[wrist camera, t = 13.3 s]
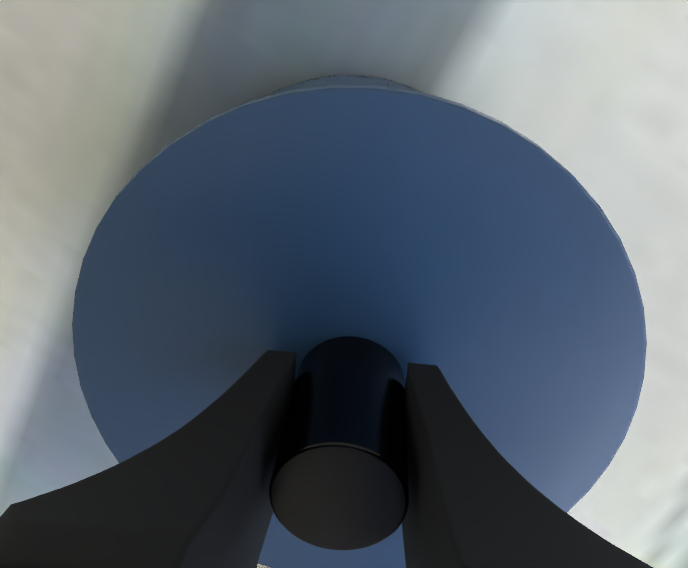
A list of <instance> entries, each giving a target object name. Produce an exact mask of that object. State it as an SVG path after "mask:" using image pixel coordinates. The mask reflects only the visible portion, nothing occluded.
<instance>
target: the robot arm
mask: <svg viewBox="0 0 688 568" xmlns="http://www.w3.org/2000/svg"><path fill="white" fill-rule="evenodd" d="M295 372H296V352H287V351H277V350H267V351H266V352H265V353H263V354H262V355H261V357H260V358H259V359H258V360H257V361H256V362H255V363H254V364H253V365H252V366H251V367H250V368H249V369H248V370H247V371H246V372H245V373H244V374H243V375H242V376H241V377H240V378H239V379H238V380H237V381H236V382H235V383H234V384H233V385H232V386H231V387H230V388H228V389H227V390H226V391H225V392H224V393H223V394H222V395H221V396H220V397H219V398H218V399H216V400H215V401H214V402H213V403H212V404H210V405H209V406H208V407H207V408H206V409H204V410H203V411H202V412H201V413H199V414H198V415H197V416H196V417H195V418H193V419H192V420H191V421H189V422H188V423H187V424H185V425H184V426H183V427H181V428H180V429H178V430H177V431H175V432H174V433H172V434H171V435H169V436H168V437H166V438H165V439H163V440H161V441H160V442H158V443H156V444H155V445H153V446H151V447H149V448H147V449H145V450H144V451H142V452H140V453H138V454H136V455H134V456H133V457H131V458H129V459H127V460H125V461H123V462H121V463H119V464H117V465H115V466H113V467H111V468H109V469H107V470H104V471H102V472H100V473H98V474H95V475H93V476H91V477H88V478H86V479H83V480H81V481H79V482H76V483H74V484H71V485H68V486H66V487H63V488H60V489H57V490H54V491H51V492H48V493H45V494H42V495H39V496H36V497H33V498H31V499H28V500H25V501H21V502H18V503H15V504H11V505H10V506H9V508H8V509H7V510H6V511H5V512H4V513H3V514H2V515H1V517H0V568H256V567H257V564H258V560H259V556H260V553H261V550H262V547H263V543H264V540H265V537H266V534H267V531H268V527H269V524H270V521H271V518H272V515H273V509H272V507H271V503H270V499H269V484H270V480H271V476H272V472H273V468H274V464H275V460H276V456H277V452H278V448H279V444H280V440H281V436H282V432H283V428H284V425H285V421H286V417H287V413H288V409H289V405H290V401H291V397H292V393H293V389H294V385H295ZM405 412H406V430H407V455H408V483H409V506H408V510H407V513H406V516H405V518H404V520H403V521H402V532H403V542H404V552H405V562H406V568H653V567H651V566H649V565H648V564H646V563H644V562H642V561H641V560H639V559H637V558H635V557H634V556H632V555H630V554H628V553H627V552H625V551H623V550H622V549H620V548H618V547H616V546H615V545H613V544H611V543H609V542H608V541H606V540H605V539H603V538H602V537H600V536H599V535H597V534H596V533H594V532H593V531H591V530H590V529H588V528H587V527H585V526H584V525H582V524H581V523H579V522H578V521H577V520H575V519H574V518H573V517H571V516H570V515H568V514H567V513H566V512H564V511H563V510H562V509H560V508H559V507H558V506H557V505H555V504H554V503H553V502H552V501H551V500H549V499H548V498H547V497H546V496H544V495H543V494H542V493H541V492H540V491H538V490H537V489H536V488H535V487H534V486H533V485H531V484H530V483H529V482H528V481H527V480H526V479H525V478H524V477H523V476H522V475H521V474H520V473H519V472H518V471H517V470H516V469H515V468H514V467H513V466H512V465H511V464H509V463H508V462H507V461H506V460H505V458H504V457H503V456H502V455H501V454H500V453H499V452H498V451H497V450H496V448H495V447H494V446H493V445H492V444H491V442H490V441H489V440H488V439H487V438H486V436H485V435H484V434H483V433H482V431H481V430H480V429H479V427H478V426H477V425H476V423H475V422H474V421H473V419H472V418H471V417H470V415H469V414H468V412H467V411H466V410H465V408H464V407H463V405H462V404H461V402H460V401H459V399H458V398H457V396H456V395H455V393H454V392H453V390H452V388H451V387H450V385H449V383H448V382H447V380H446V378H445V377H444V375H443V373H442V371H441V370H440V369H439V367H438V366H437V365H429V364H418V363H408V367H407V375H406V383H405Z"/></svg>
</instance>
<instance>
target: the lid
mask: <svg viewBox="0 0 688 568" xmlns="http://www.w3.org/2000/svg"><path fill="white" fill-rule="evenodd" d="M72 326H73V342H74V357H75V361H76V366H77V371H78V376H79V380H80V385H81V388H82V391H83V394H84V397H85V400H86V402H87V405H88V408H89V411H90V413H91V416H92V418H93V420H94V422H95V424H96V426H97V428H98V430H99V431H100V433H101V435H102V437H103V439H104V441H105V443H106V444H107V446H108V447H109V449H110V450H111V452H112V453H113V455H114V456H115V458H116V459H117V460H118V462H119V463H121V462H123V461H125V460H127V459H129V458H131V457H133V456H134V455H136V454H138V453H140V452H142V451H144V450H145V449H147V448H149V447H151V446H153V445H155V444H156V443H158V442H160V441H161V440H163V439H165V438H166V437H168V436H169V435H171V434H172V433H174V432H175V431H177V430H178V429H180V428H181V427H183V426H184V425H185V424H187V423H188V422H189V421H191V420H192V419H193V418H195V417H196V416H197V415H198V414H199V413H201V412H202V411H203V410H204V409H206V408H207V407H208V406H209V405H210V404H212V403H213V402H214V401H215V400H216V399H218V398H219V397H220V396H221V395H222V394H223V393H224V392H225V391H226V390H227V389H228V388H230V387H231V386H232V385H233V384H234V383H235V382H236V381H237V380H238V379H239V378H240V377H241V376H242V375H243V374H244V373H245V372H246V371H247V370H248V369H249V368H250V367H251V366H252V365H253V364H254V363H255V362H256V361H257V360H258V359H259V358H260V357H261V355H262V354H263V353H265V352H266V351H267V350H277V351H287V352H296V372H295V385H294V389H293V393H292V397H291V401H290V405H289V409H288V413H287V417H286V421H285V425H284V428H283V432H282V436H281V440H280V444H279V448H278V452H277V456H276V460H275V464H274V468H273V472H272V476H271V480H270V484H269V499H270V503H271V507H272V509H273V515H272V518H271V521H270V524H269V527H268V531H267V534H266V537H265V540H264V543H263V547H262V550H261V553H260V556H259V560H258V563H259V564H262V565H265V566H268V567H270V568H406V562H405V552H404V542H403V532H402V521H403V520H404V518H405V516H406V513H407V510H408V506H409V483H408V455H407V430H406V412H405V383H406V375H407V367H408V363H418V364H429V365H437V366H438V367H439V369H440V370H441V371H442V373H443V375H444V377H445V378H446V380H447V382H448V383H449V385H450V387H451V388H452V390H453V392H454V393H455V395H456V396H457V398H458V399H459V401H460V402H461V404H462V405H463V407H464V408H465V410H466V411H467V412H468V414H469V415H470V417H471V418H472V419H473V421H474V422H475V423H476V425H477V426H478V427H479V429H480V430H481V431H482V433H483V434H484V435H485V436H486V438H487V439H488V440H489V441H490V442H491V444H492V445H493V446H494V447H495V448H496V450H497V451H498V452H499V453H500V454H501V455H502V456H503V457H504V458H505V460H506V461H507V462H508V463H509V464H511V465H512V466H513V467H514V468H515V469H516V470H517V471H518V472H519V473H520V474H521V475H522V476H523V477H524V478H525V479H526V480H527V481H528V482H529V483H530V484H531V485H533V486H534V487H535V488H536V489H537V490H538V491H540V492H541V493H542V494H543V495H544V496H546V497H547V498H548V499H549V500H551V501H552V502H553V503H554V504H555V505H557V506H558V507H559V508H560V509H562V510H563V511H564V512H566V513H567V512H568V511H569V510H570V509H571V508H572V507H573V506H574V505H575V504H576V503H577V502H578V501H579V500H580V499H581V498H582V497H583V496H584V495H585V494H586V493H587V492H588V491H589V490H590V489H591V487H592V486H593V485H594V484H595V482H596V481H597V480H598V478H599V477H600V476H601V475H602V473H603V472H604V471H605V470H606V468H607V467H608V466H609V464H610V462H611V461H612V459H613V457H614V455H615V454H616V452H617V450H618V448H619V447H620V445H621V443H622V442H623V440H624V438H625V436H626V433H627V431H628V428H629V426H630V423H631V421H632V418H633V416H634V413H635V411H636V408H637V404H638V400H639V395H640V391H641V387H642V383H643V378H644V369H645V356H646V343H647V342H646V330H645V318H644V307H643V303H642V299H641V295H640V291H639V287H638V283H637V279H636V275H635V272H634V270H633V267H632V265H631V263H630V260H629V258H628V256H627V253H626V251H625V249H624V246H623V244H622V242H621V239H620V238H619V236H618V235H617V233H616V231H615V230H614V228H613V227H612V225H611V223H610V222H609V220H608V219H607V217H606V215H605V214H604V212H603V211H602V209H601V208H600V206H599V205H598V204H597V203H596V201H595V200H594V199H593V198H592V197H591V196H590V195H589V193H588V192H587V191H586V190H585V189H584V188H583V186H582V185H581V184H580V183H579V182H578V181H577V180H576V178H575V177H574V176H573V175H572V174H571V173H570V172H569V171H568V170H567V169H565V168H564V167H563V166H562V165H561V164H560V163H558V162H557V161H556V160H555V159H554V158H552V157H551V156H550V155H549V154H548V153H547V152H545V151H544V150H543V149H542V148H541V147H540V146H538V145H537V144H536V143H534V142H533V141H531V140H529V139H528V138H526V137H525V136H523V135H522V134H520V133H518V132H517V131H515V130H514V129H512V128H510V127H509V126H507V125H506V124H504V123H502V122H501V121H499V120H496V119H494V118H492V117H490V116H487V115H485V114H483V113H481V112H478V111H476V110H474V109H472V108H469V107H467V106H465V105H463V104H460V103H456V102H453V101H450V100H446V99H443V98H439V97H436V96H432V95H429V94H425V93H422V92H418V91H411V90H404V89H397V88H390V87H383V86H376V85H328V86H320V87H313V88H305V89H297V90H290V91H285V92H282V93H278V94H274V95H271V96H267V97H263V98H260V99H256V100H253V101H249V102H246V103H244V104H241V105H239V106H237V107H235V108H232V109H230V110H228V111H225V112H223V113H221V114H218V115H216V116H214V117H212V118H209V119H208V120H206V121H205V122H203V123H201V124H200V125H198V126H197V127H195V128H193V129H192V130H190V131H188V132H187V133H185V134H184V135H182V136H180V137H179V138H177V139H176V140H174V141H173V142H171V143H169V144H168V145H167V146H166V147H165V148H164V149H162V150H161V151H160V152H159V153H158V154H157V155H155V156H154V157H153V158H152V159H151V160H150V161H148V162H147V163H146V164H145V165H144V166H142V167H141V168H140V169H139V170H138V171H137V173H136V174H135V175H134V176H133V177H132V178H131V180H130V181H129V182H128V183H127V184H126V185H125V187H124V188H123V189H122V190H121V191H120V192H119V193H118V195H117V196H116V197H115V199H114V200H113V202H112V203H111V205H110V207H109V208H108V210H107V211H106V213H105V215H104V216H103V218H102V219H101V221H100V223H99V224H98V226H97V228H96V230H95V232H94V235H93V237H92V239H91V242H90V244H89V247H88V249H87V251H86V254H85V256H84V258H83V262H82V266H81V270H80V274H79V278H78V282H77V286H76V290H75V300H74V312H73V323H72Z"/></svg>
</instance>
